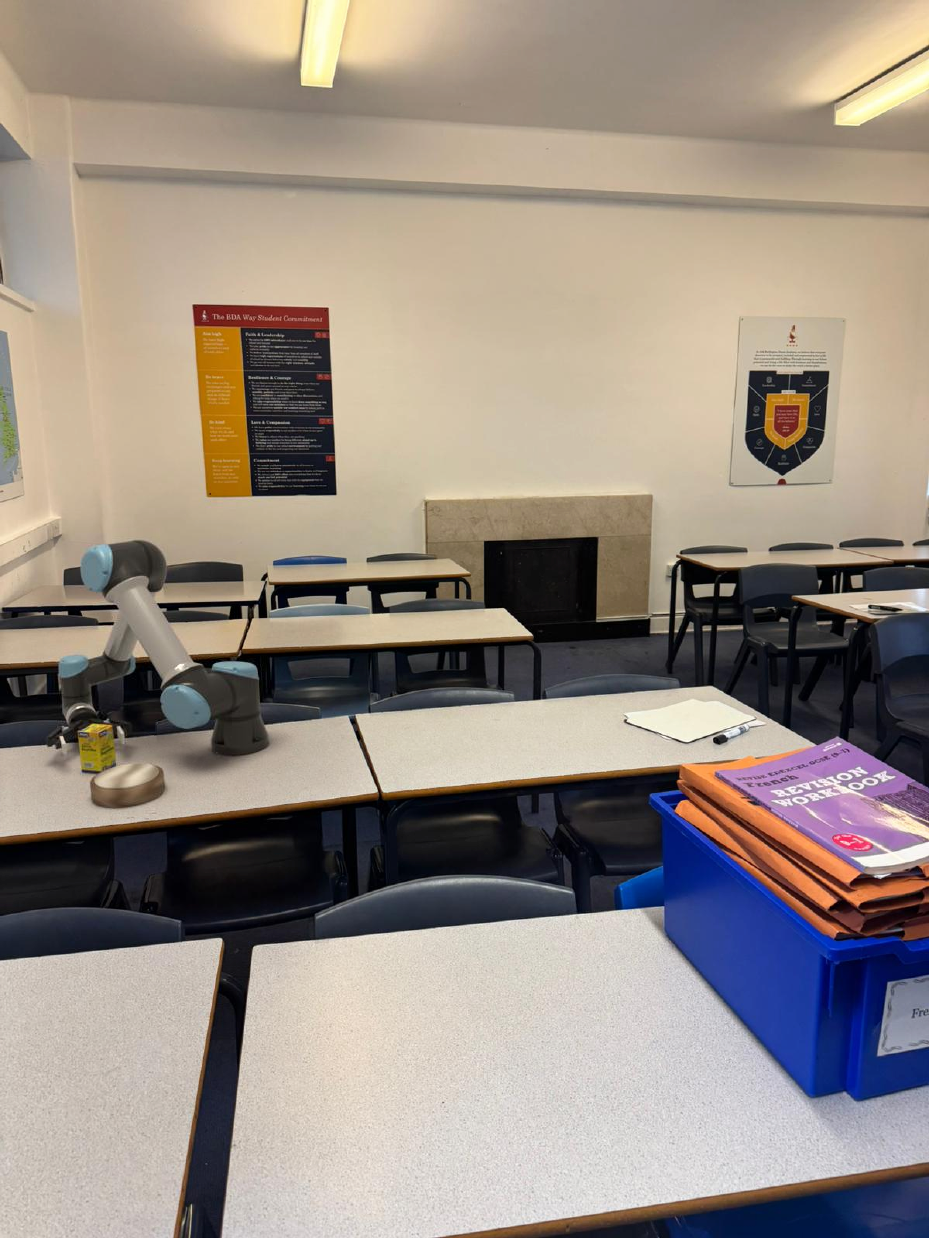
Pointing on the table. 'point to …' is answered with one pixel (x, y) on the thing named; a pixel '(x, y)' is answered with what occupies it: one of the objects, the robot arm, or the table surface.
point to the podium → (127, 785)
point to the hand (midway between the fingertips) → (94, 743)
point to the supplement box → (96, 748)
